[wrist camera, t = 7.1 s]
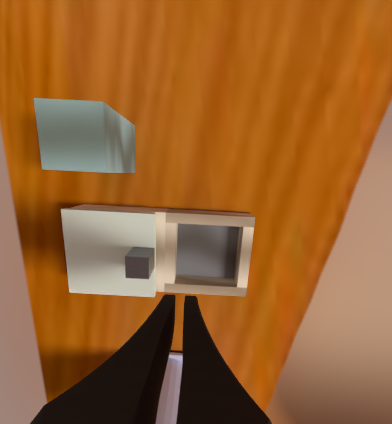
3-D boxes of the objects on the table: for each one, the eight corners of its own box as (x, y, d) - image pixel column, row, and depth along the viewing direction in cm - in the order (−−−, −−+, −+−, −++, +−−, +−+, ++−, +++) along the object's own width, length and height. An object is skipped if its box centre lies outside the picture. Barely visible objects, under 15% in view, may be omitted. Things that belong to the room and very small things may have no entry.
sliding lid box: (241, 284, 21) (245, 296, 19) (89, 276, 21) (78, 287, 19) (249, 212, 19) (255, 217, 17) (84, 204, 19) (71, 207, 17)
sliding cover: (155, 293, 19) (148, 312, 16) (73, 288, 19) (53, 306, 16) (156, 212, 17) (148, 219, 14) (65, 207, 17) (41, 214, 14)
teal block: (135, 173, 19) (106, 172, 13) (91, 170, 19) (42, 169, 13) (134, 125, 18) (102, 101, 12) (88, 123, 18) (33, 98, 12)
